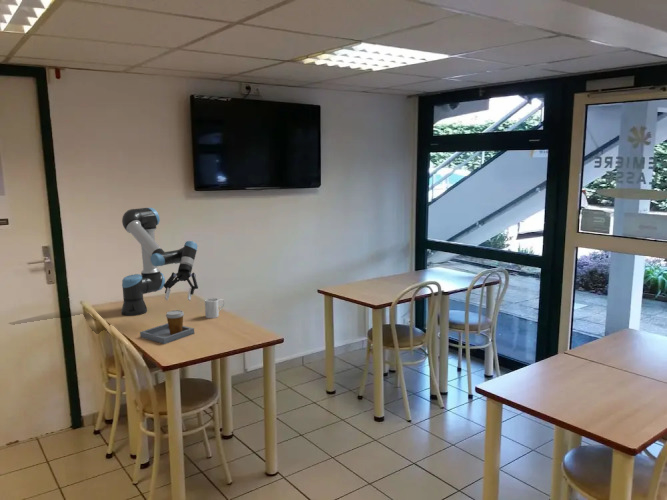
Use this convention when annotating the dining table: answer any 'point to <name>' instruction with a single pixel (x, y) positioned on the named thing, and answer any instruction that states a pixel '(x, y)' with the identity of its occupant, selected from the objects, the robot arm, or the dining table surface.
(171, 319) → the disposable coffee cup
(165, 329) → the slate tray
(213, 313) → the mug
